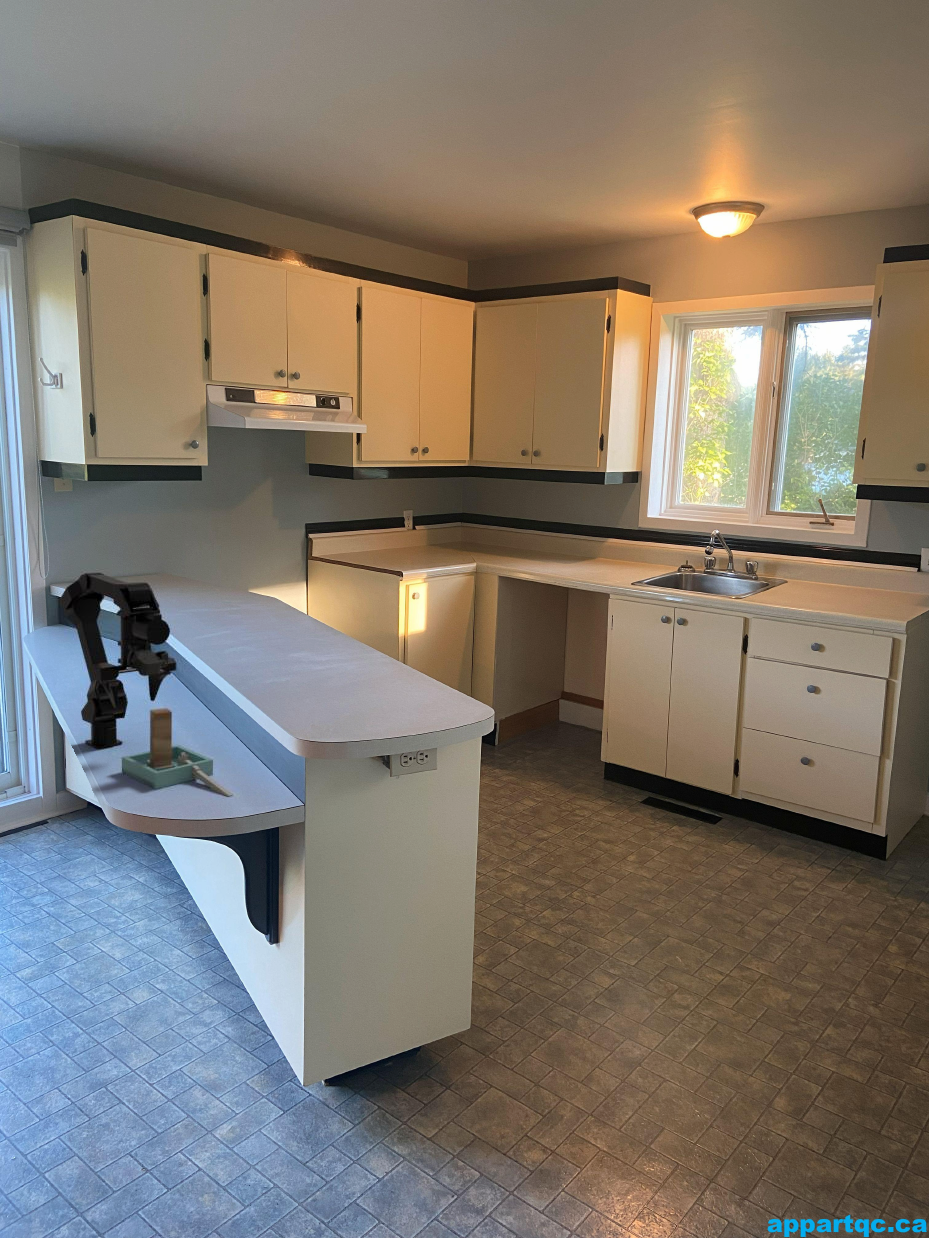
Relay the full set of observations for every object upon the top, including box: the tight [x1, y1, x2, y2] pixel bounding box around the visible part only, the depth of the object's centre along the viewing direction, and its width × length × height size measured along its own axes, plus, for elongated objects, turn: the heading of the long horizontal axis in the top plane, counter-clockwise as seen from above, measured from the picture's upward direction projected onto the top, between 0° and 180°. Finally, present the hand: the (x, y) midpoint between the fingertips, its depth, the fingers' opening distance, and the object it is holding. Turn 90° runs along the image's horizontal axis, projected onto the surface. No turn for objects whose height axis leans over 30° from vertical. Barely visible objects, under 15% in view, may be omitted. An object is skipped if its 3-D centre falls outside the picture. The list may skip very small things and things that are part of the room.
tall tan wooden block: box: [146, 707, 175, 771], centre depth 196 cm, size 6×4×14 cm
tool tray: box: [121, 744, 214, 790], centre depth 197 cm, size 14×14×4 cm
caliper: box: [177, 752, 234, 798], centre depth 192 cm, size 20×1×6 cm, turn 51°
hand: (134, 703), depth 204 cm, fingers open, 9 cm apart
